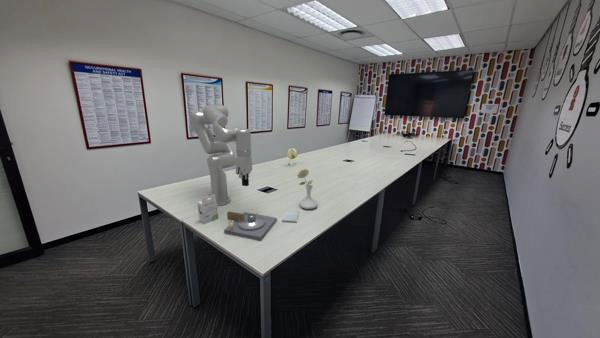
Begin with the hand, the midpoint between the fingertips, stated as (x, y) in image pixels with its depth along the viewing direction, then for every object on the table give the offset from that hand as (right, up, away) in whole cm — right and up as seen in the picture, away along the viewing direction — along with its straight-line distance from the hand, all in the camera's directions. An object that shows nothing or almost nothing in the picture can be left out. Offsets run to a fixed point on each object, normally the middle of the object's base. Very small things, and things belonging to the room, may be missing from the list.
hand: (245, 185), depth 127 cm
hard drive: (+25, -19, +6) cm, 32 cm away
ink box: (-21, -19, +1) cm, 28 cm away
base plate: (+5, -22, -5) cm, 23 cm away
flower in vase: (+34, -15, +20) cm, 42 cm away
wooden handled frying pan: (+1, -19, -5) cm, 20 cm away
